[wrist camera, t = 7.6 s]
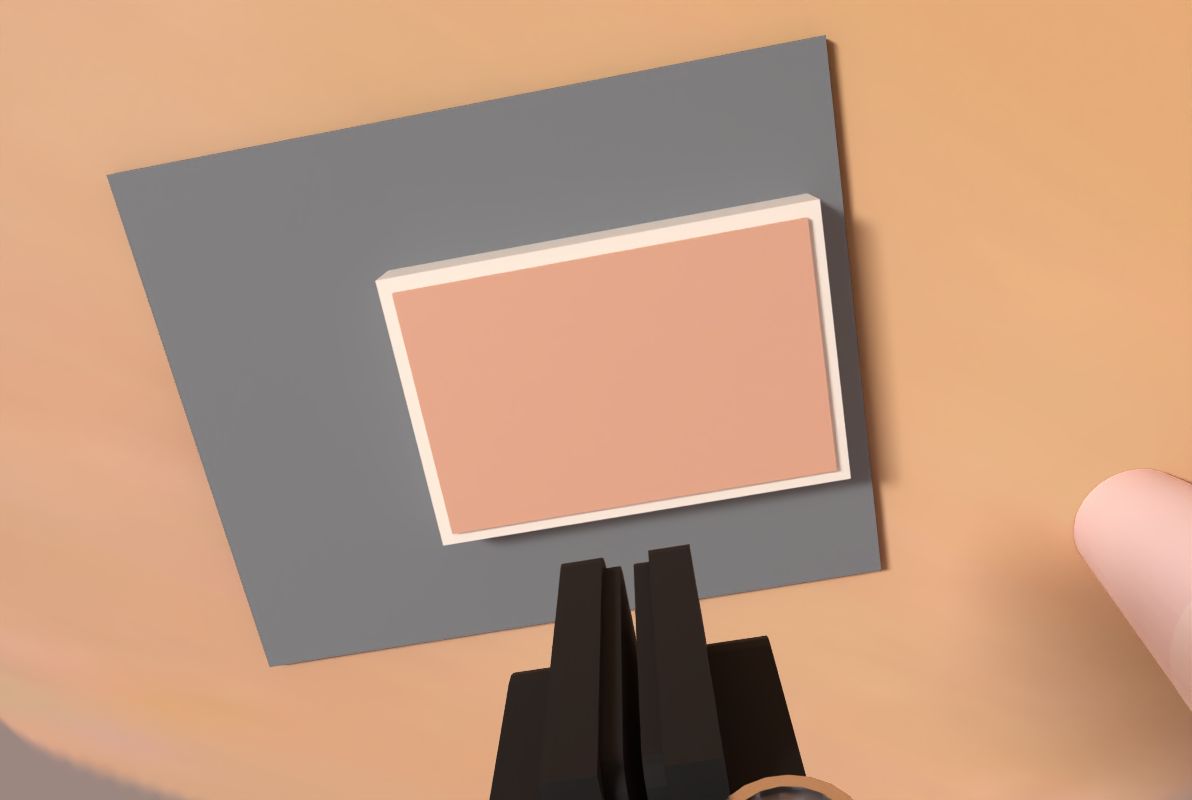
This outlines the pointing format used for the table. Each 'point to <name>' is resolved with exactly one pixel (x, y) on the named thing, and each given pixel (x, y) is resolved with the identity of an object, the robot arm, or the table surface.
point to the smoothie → (1145, 561)
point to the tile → (622, 369)
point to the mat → (367, 363)
